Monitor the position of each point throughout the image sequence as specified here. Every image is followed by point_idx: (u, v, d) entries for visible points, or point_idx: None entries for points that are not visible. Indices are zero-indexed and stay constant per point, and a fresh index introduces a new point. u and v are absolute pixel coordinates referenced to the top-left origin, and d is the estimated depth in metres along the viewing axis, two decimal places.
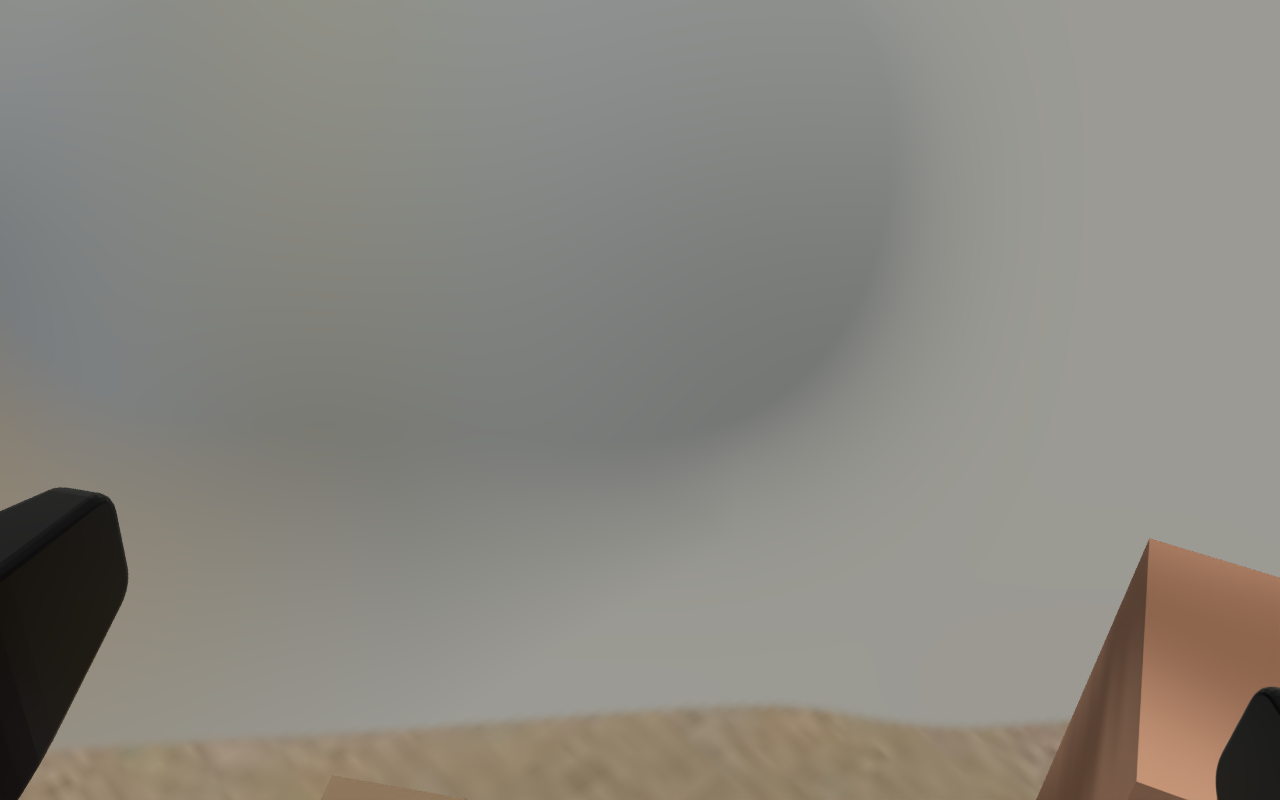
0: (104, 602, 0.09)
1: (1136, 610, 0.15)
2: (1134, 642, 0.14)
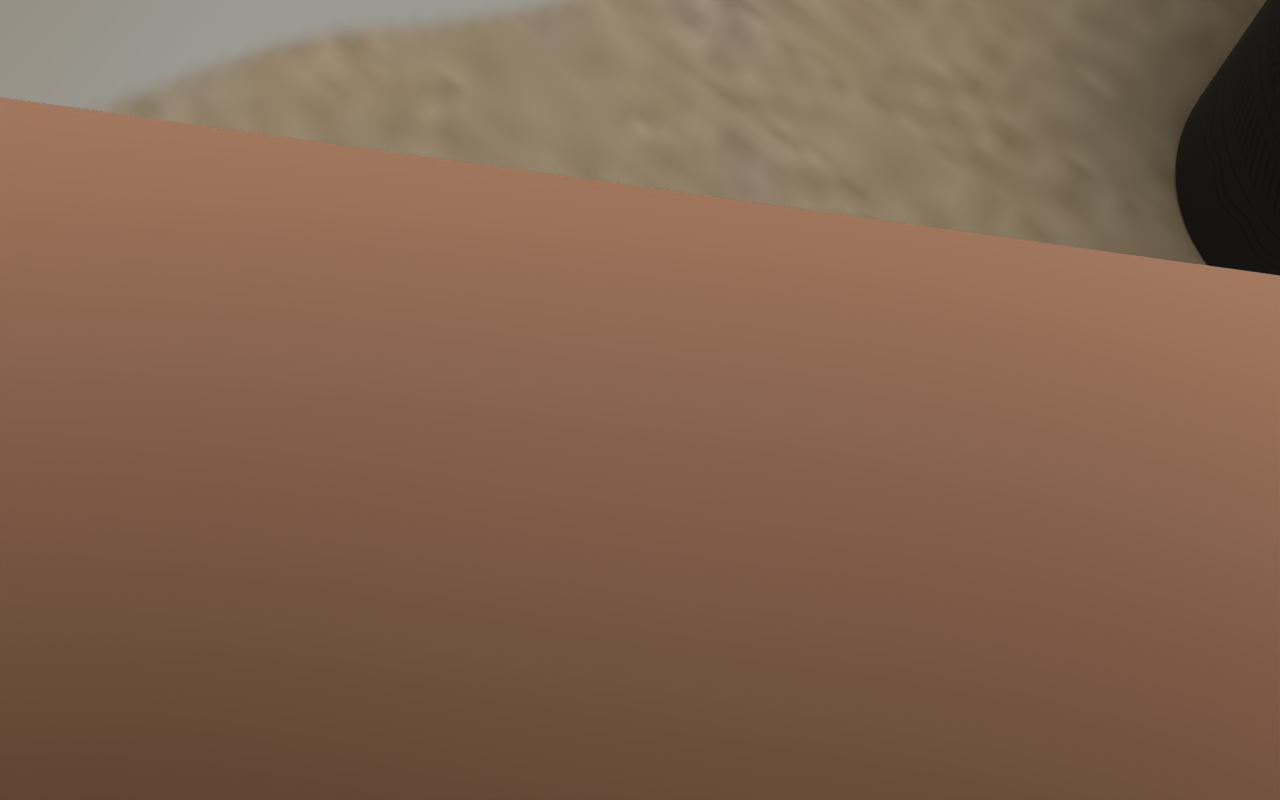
0: None
1: None
2: None
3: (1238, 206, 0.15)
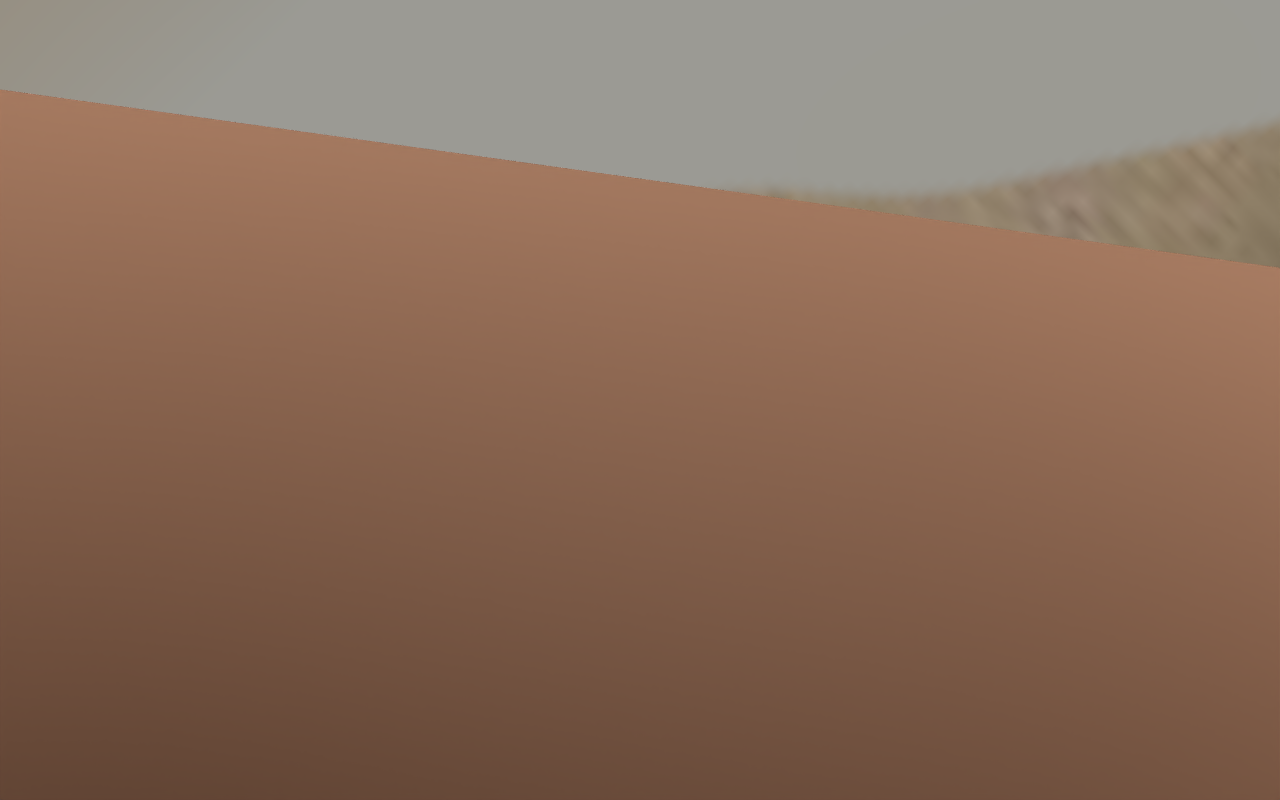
0: None
1: None
2: None
3: None
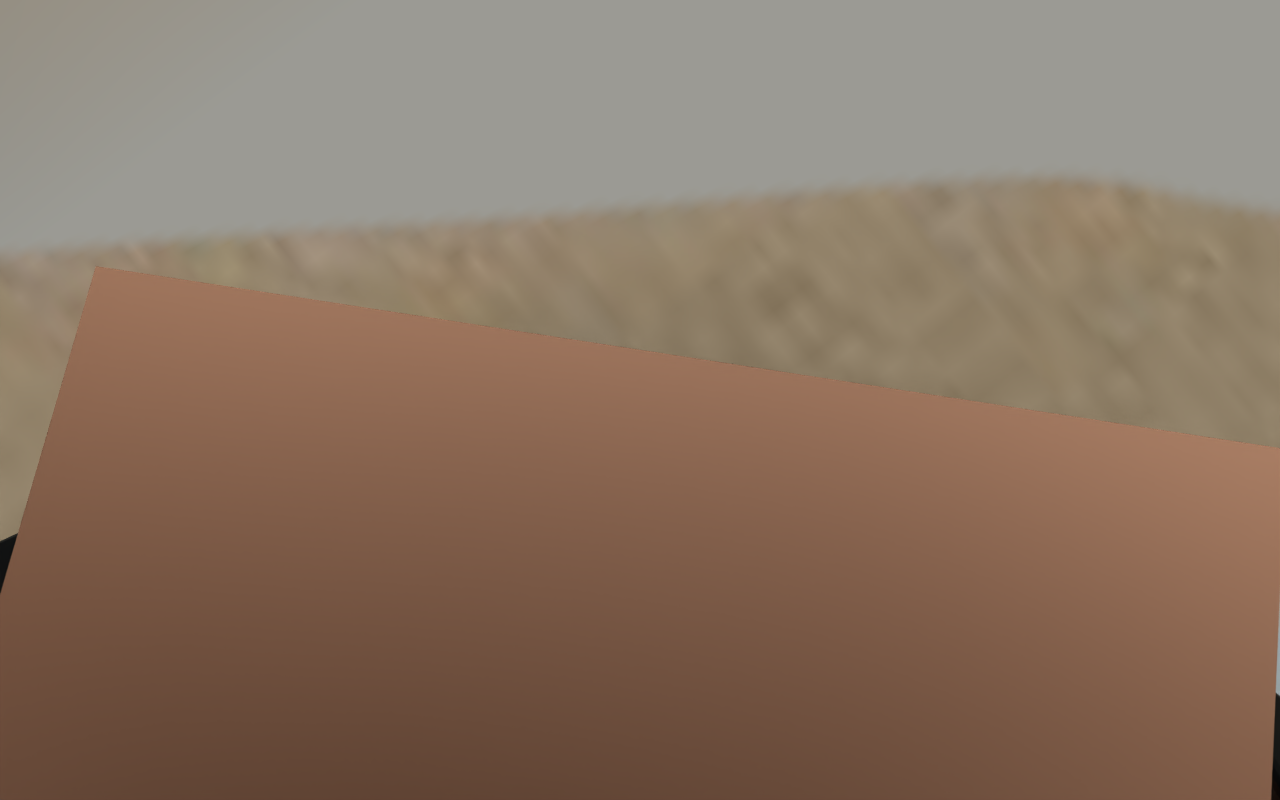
0: None
1: None
2: None
3: None
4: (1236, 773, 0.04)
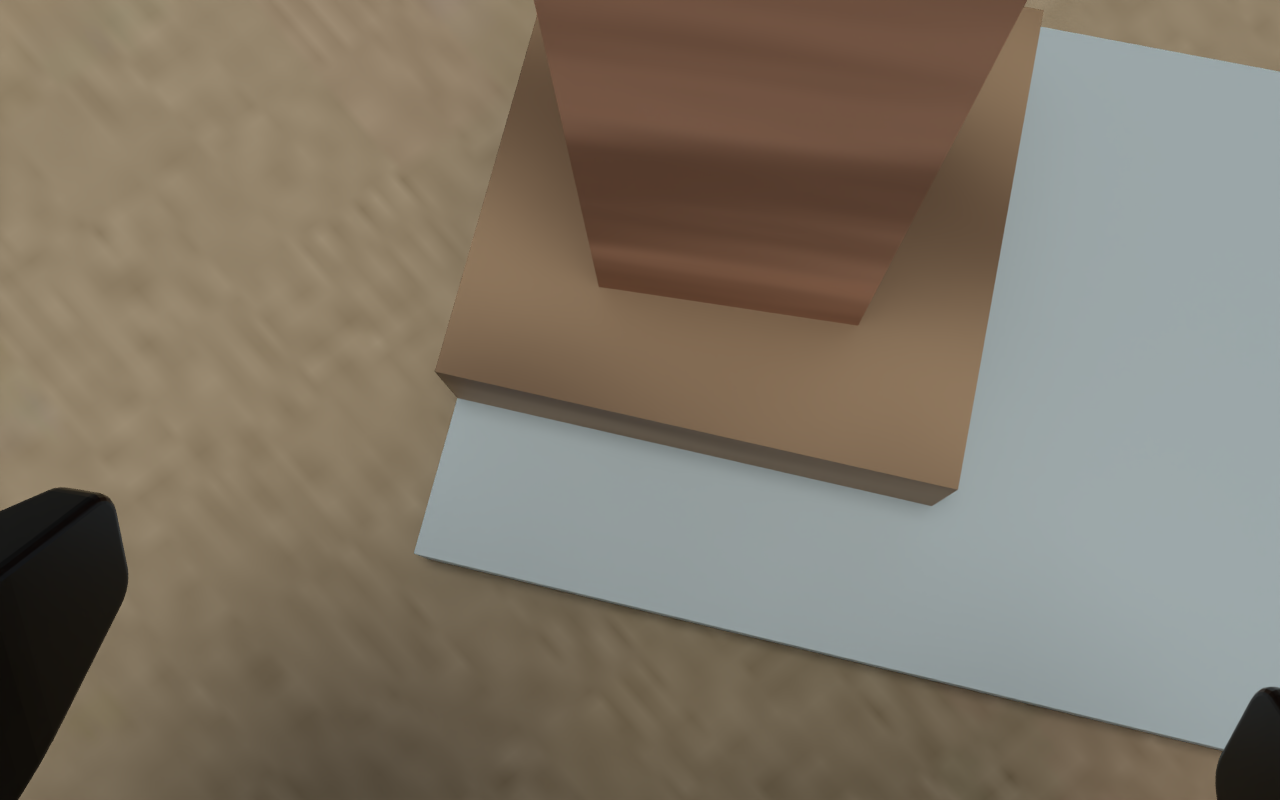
0: (104, 602, 0.09)
1: None
2: None
3: None
4: None
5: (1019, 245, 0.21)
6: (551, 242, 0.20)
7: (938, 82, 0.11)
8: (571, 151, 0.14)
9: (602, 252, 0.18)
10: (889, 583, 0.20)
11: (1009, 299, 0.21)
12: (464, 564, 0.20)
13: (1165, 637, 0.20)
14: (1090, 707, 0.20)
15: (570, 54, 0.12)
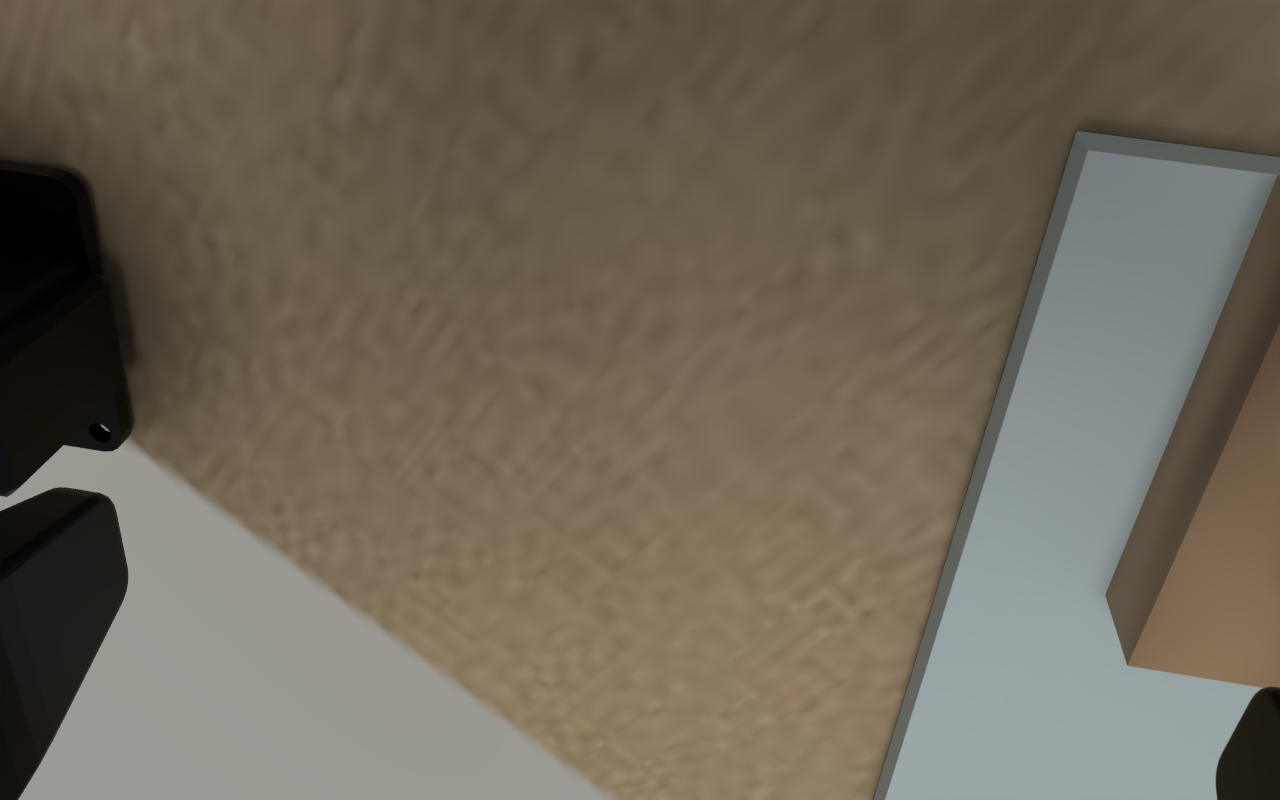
0: (104, 602, 0.09)
1: None
2: None
3: None
4: None
5: None
6: None
7: None
8: None
9: None
10: (1034, 564, 0.23)
11: None
12: (1072, 205, 0.19)
13: (983, 730, 0.25)
14: (928, 685, 0.25)
15: None
